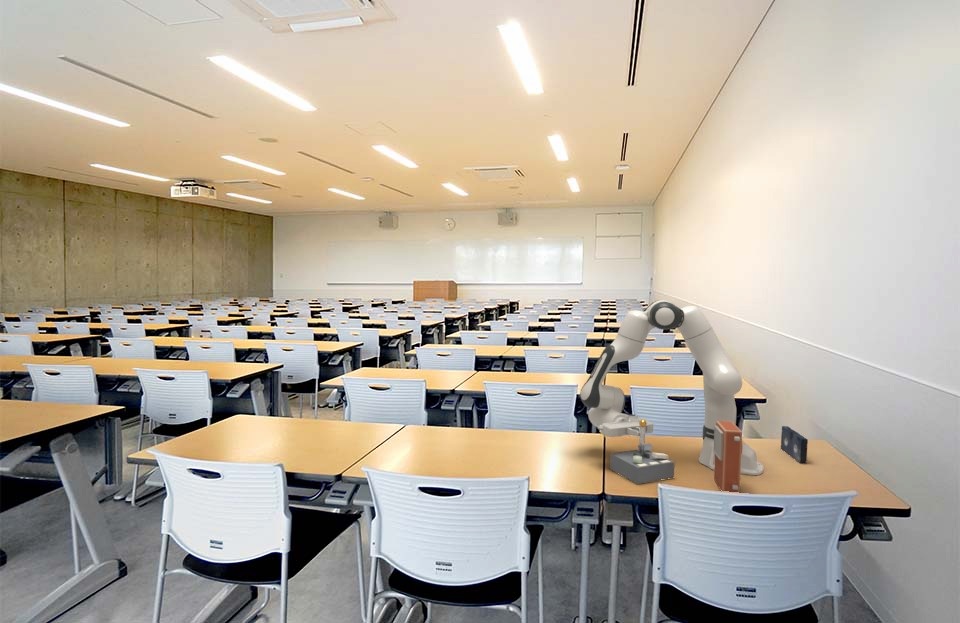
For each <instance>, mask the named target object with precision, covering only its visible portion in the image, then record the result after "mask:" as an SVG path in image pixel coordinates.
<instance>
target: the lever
mask: <svg viewBox="0 0 960 623" xmlns="http://www.w3.org/2000/svg"><path fill="white" fill-rule="evenodd" d="M645 420H646V419H645ZM645 420H640V422H639V425H640V436H639V444H638V446H639V448H638V449H639V454H641V455H644V447H645V444H646V443H645V442H646V441H645V440H646V433H645V426H646V424H647V423H646V421H645Z"/></svg>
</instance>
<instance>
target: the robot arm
mask: <svg viewBox="0 0 960 623" xmlns="http://www.w3.org/2000/svg"><path fill="white" fill-rule="evenodd" d="M654 328H656V329H658V330H664V331H665V330H671V329H677V330H678V331H679V332H680V334H681V336H682V338H683V340H684V342H685V343H686V346H687V347H688V349H689V351H690V352H691V355H692V357H693V358H694V360H695V361H696V364H697V365H698V366H699V368H700V370H701V371H702V375H703V376H702V377H703V378H702V379H703V393H704V394H703V396H704V424H703V426H702V447H701V451H700V455H699V458H698V462H699V463H700V464H702V465H703V466H705V467H708V468H709V469H710V470H713V471H714V467H715V453H714V451H713V450H714V428H715V427H714V426H716V421H730V422H733V423H734V424H735V425H736V424H737V406H736V401H735V400H736V399H735V395H736V394H737V393H739V392H740V391H741V389H742V387H743V380H742V376H741V374H740V373H739V370H738V369H737V367H736V366H735V364H734V362H733V361H732V359H731V357H730V356H729V354H728V353H727V352H726V349H725V348H724V346H723V345H722V343H721V342H720V340H719V338H718V336H717V334H716V331H715V330H714V328H713V327H712V325H711V323H710V321H709V320H708V318H707V317H706V316H705V314H704V313H703V312H702V310H701V309H700V308H699V307H698V306H696V305H686V306H684V307H682V308H680V307H678V306H677V305H675V303H672V302H671V301H668V300H665V299H658V300H655V301H653V302H652V303H651V304H649V305H648V306H647V307H646V308H645V309H643V310H630V311H628V312H627V314H626V315H625V317H624V318H623V320H622V322H621V324H620V327H619V329H618V331H617V334H616V336H615V338H614V339H613V341H612V342H611V344H609V345H607V346H606V347H604V349H603V350H602V352H601V354H600V356H599V357H598V359H597V361H596V363H595V365H594V367H593V369H592V371H591V373H590V375H589V377H588V378H587V380H586V381H585V383H584V384H583V385H582V387H581V389H580V393H579V398H580V400H581V402H582V403H583V405H584V407H586V408H589V410H588V420H589V421H590V423H591V424H592V425H593V426H595V427H596V428H597V429H598V430H600V431H601V433H602V434H603V435H605V436H607V437H608V438H616V437H617V438H618V437H625V436H635V437H640V425H639V422H640V420H645V421H646V423H647V424H646V426H645V434H650V433H653V432H654V423H653V422H652V421H649V420H647V419H645V418H642V417H639V415H637V414H632V413H631V414H629V413H628V414H627V413H622V412H623V410H624V408H625V404H626V396H625V393H624V391H623V390H622V388H620V387H617V386H613V385H607V384H603V382H604V380H605V379H606V376H607V375H608V373H609V370H610V369H611V368H612V366H614V365H616V364H618V363H620V362H627V361H630V360H633V359H635V358H638V356H640V355H641V353H642V351H643V349H644V347H645V343H646V340H647V337H648V335H649V333H650V332H651V330H653V329H654ZM736 426H737V425H736ZM755 451H756V450H754V449H753V448H752V447H751V446H749V444H748V443H746V442H745V441H743V440H742V454H741V471H740V475H742V474H744V475H749V476H750V475H751V476H759V475H761V474H763V472H764V465H763V464H762V463H761V462H760V461H758V457H757V453H756V452H755Z"/></svg>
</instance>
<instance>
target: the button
mask: <svg viewBox="0 0 960 623" xmlns="http://www.w3.org/2000/svg"><path fill="white" fill-rule="evenodd" d="M633 463H636V464H641V463H642V457H641V456H637V455H636V456H633Z"/></svg>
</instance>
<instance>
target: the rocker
mask: <svg viewBox="0 0 960 623" xmlns="http://www.w3.org/2000/svg"><path fill="white" fill-rule="evenodd" d="M652 456H653V457H655V458H663V459H669V455H668V454H665V453H663V452H662V453H661V452H653V453H652Z"/></svg>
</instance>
